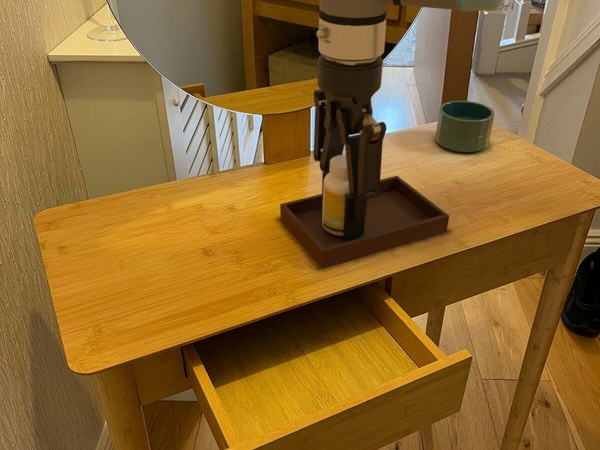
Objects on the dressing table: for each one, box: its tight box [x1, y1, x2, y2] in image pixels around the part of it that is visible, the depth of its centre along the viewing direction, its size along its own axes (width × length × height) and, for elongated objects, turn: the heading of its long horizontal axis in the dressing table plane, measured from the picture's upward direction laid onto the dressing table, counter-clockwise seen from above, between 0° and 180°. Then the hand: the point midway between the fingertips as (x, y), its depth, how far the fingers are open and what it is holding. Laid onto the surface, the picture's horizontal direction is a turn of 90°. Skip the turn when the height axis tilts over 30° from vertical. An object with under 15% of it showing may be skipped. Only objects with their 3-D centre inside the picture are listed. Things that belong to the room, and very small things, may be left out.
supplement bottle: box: [322, 154, 349, 236], centre depth 82 cm, size 5×5×10 cm
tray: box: [279, 175, 450, 269], centre depth 85 cm, size 19×13×3 cm, turn 116°
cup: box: [435, 100, 495, 153], centre depth 107 cm, size 9×9×6 cm
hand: (342, 224), depth 84 cm, fingers closed on supplement bottle, 5 cm apart
